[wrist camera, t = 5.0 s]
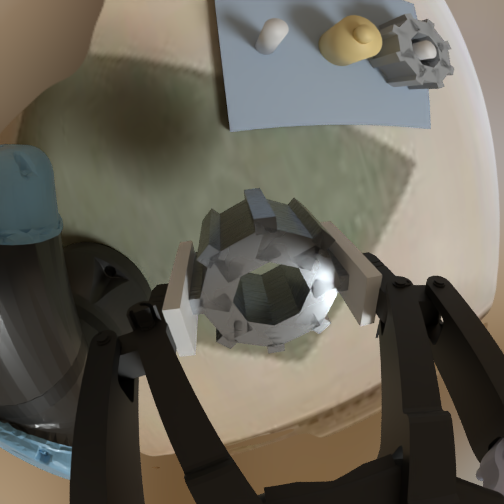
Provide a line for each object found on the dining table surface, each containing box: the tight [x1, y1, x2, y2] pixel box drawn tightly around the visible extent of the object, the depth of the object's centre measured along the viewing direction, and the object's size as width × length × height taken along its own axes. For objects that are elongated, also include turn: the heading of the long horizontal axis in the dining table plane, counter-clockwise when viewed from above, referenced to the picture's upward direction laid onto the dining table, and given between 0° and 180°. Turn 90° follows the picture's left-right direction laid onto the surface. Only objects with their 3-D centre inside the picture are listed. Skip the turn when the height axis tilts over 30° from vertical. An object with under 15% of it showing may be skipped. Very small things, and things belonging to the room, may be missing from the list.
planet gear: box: [189, 188, 349, 353], centre depth 15 cm, size 8×8×5 cm
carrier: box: [215, 0, 454, 132], centre depth 18 cm, size 22×16×7 cm
